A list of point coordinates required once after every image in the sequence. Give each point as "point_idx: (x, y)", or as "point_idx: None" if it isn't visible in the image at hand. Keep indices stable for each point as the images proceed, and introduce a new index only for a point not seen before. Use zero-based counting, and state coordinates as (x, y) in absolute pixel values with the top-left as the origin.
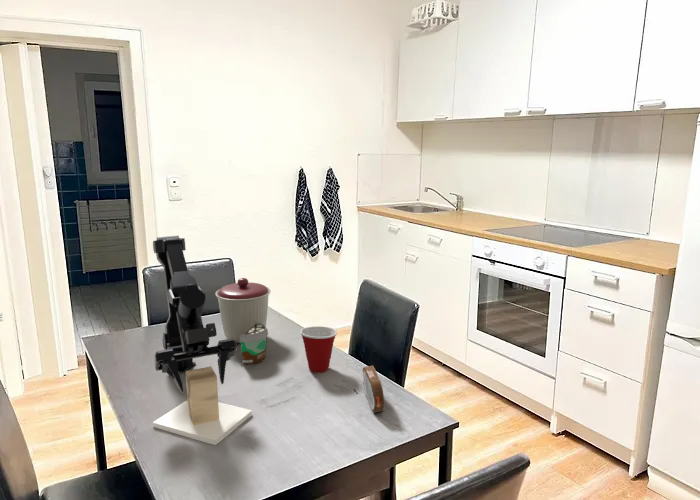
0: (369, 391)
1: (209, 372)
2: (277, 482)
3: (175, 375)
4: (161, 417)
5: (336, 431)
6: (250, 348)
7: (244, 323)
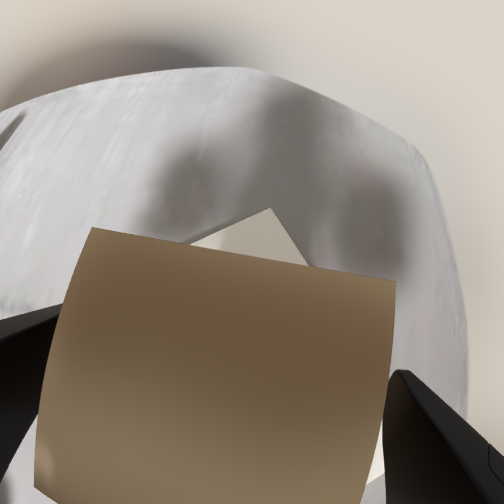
0: None
1: (91, 374)
2: (223, 75)
3: (497, 456)
4: (380, 471)
5: (50, 138)
6: None
7: None
